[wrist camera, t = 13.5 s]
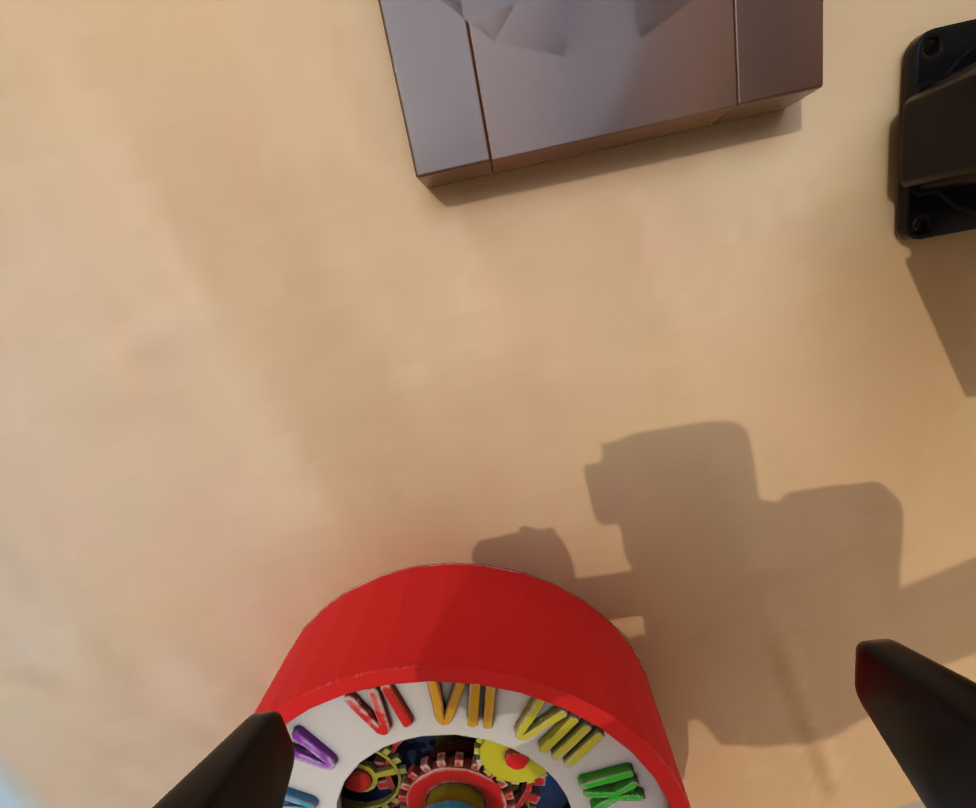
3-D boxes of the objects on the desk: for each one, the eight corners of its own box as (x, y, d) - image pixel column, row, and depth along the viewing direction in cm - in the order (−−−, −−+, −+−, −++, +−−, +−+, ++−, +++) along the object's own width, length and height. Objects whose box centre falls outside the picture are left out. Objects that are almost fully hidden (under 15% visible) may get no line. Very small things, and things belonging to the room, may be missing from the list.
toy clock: (601, 593, 15) (756, 957, 20) (575, 505, 20) (700, 805, 25) (112, 752, 18) (351, 1036, 23) (207, 636, 23) (382, 883, 28)
